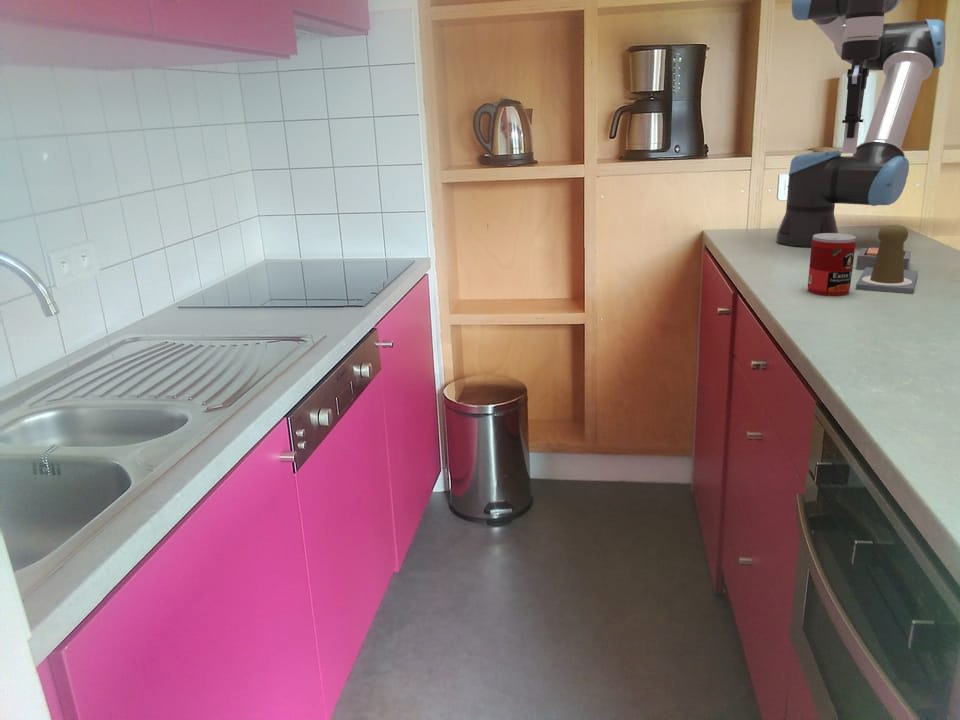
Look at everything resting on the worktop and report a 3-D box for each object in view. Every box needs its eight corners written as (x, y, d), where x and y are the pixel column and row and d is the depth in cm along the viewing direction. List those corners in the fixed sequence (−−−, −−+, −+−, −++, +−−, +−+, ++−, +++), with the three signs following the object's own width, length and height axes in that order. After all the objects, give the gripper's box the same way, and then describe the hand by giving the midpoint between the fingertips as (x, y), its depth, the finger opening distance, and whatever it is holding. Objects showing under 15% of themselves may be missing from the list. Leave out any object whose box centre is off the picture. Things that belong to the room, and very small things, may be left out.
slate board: (865, 271, 167) (865, 266, 167) (917, 275, 162) (917, 270, 162) (855, 289, 152) (856, 283, 152) (912, 293, 148) (913, 288, 147)
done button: (867, 260, 176) (869, 247, 175) (901, 262, 172) (903, 249, 171) (864, 266, 170) (866, 252, 169) (899, 268, 167) (901, 254, 166)
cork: (907, 283, 151) (916, 227, 147) (874, 283, 152) (882, 228, 148) (898, 277, 156) (906, 223, 153) (866, 276, 158) (873, 223, 154)
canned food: (831, 298, 147) (838, 241, 143) (798, 290, 153) (803, 235, 150) (858, 292, 150) (865, 236, 147) (824, 285, 157) (830, 231, 153)
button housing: (860, 260, 178) (862, 248, 177) (909, 263, 173) (911, 250, 172) (855, 269, 170) (857, 255, 169) (907, 272, 165) (908, 258, 164)
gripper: (846, 42, 171) (834, 151, 179) (839, 39, 161) (826, 155, 168) (883, 40, 168) (870, 151, 175) (878, 37, 157) (864, 155, 165)
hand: (849, 153), depth 172 cm, fingers closed
